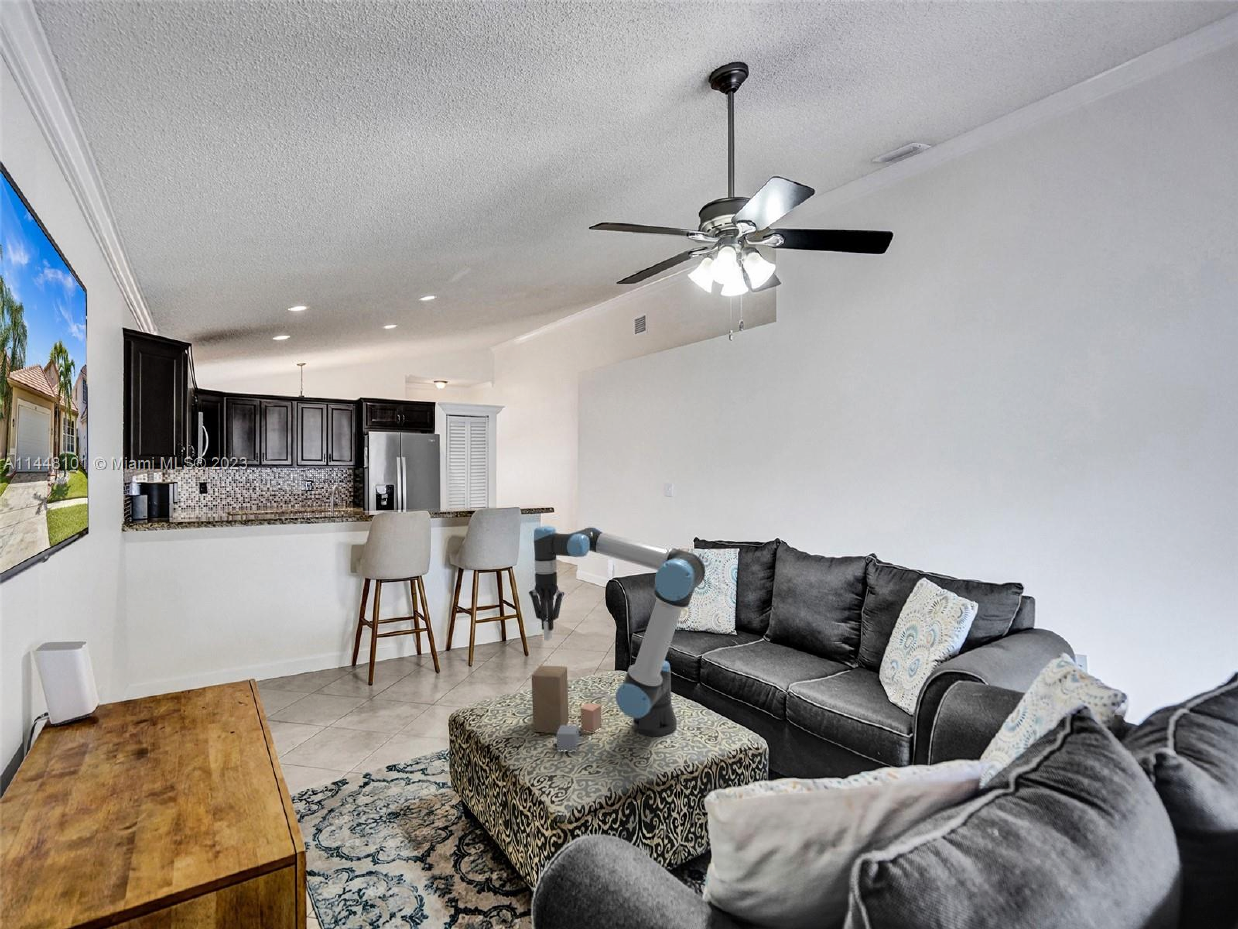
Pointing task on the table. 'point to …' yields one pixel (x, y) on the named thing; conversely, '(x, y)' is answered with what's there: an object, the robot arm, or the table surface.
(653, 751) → the table surface
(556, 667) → the wooden block
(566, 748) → the slate cube
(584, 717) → the terracotta block
